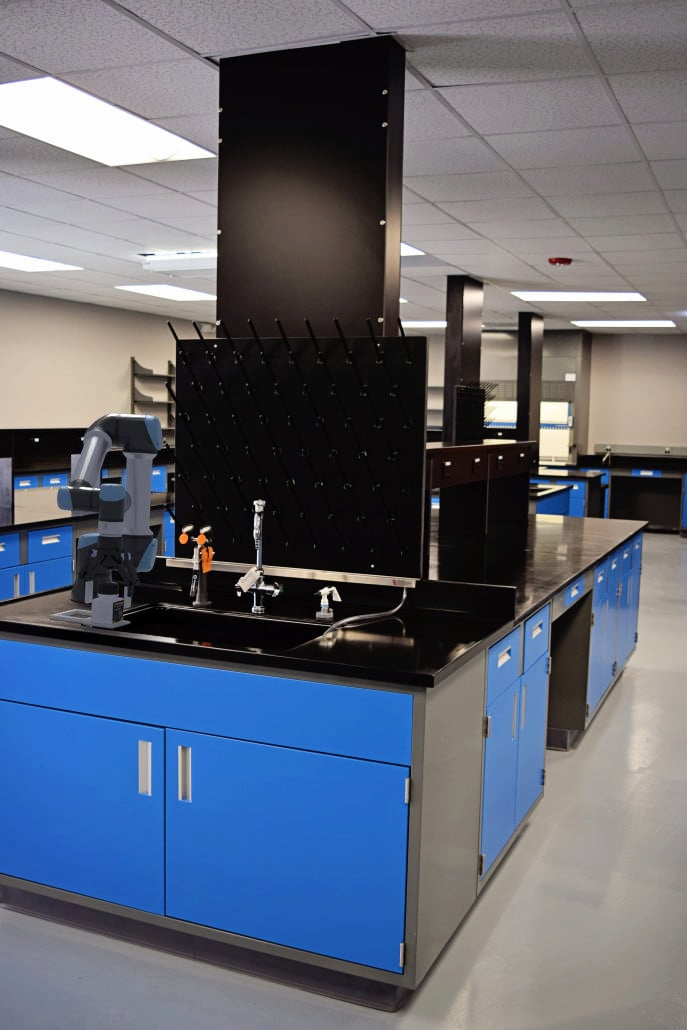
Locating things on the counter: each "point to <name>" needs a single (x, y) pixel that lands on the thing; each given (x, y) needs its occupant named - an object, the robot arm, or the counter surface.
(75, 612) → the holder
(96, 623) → the pad
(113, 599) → the medicine bottle
